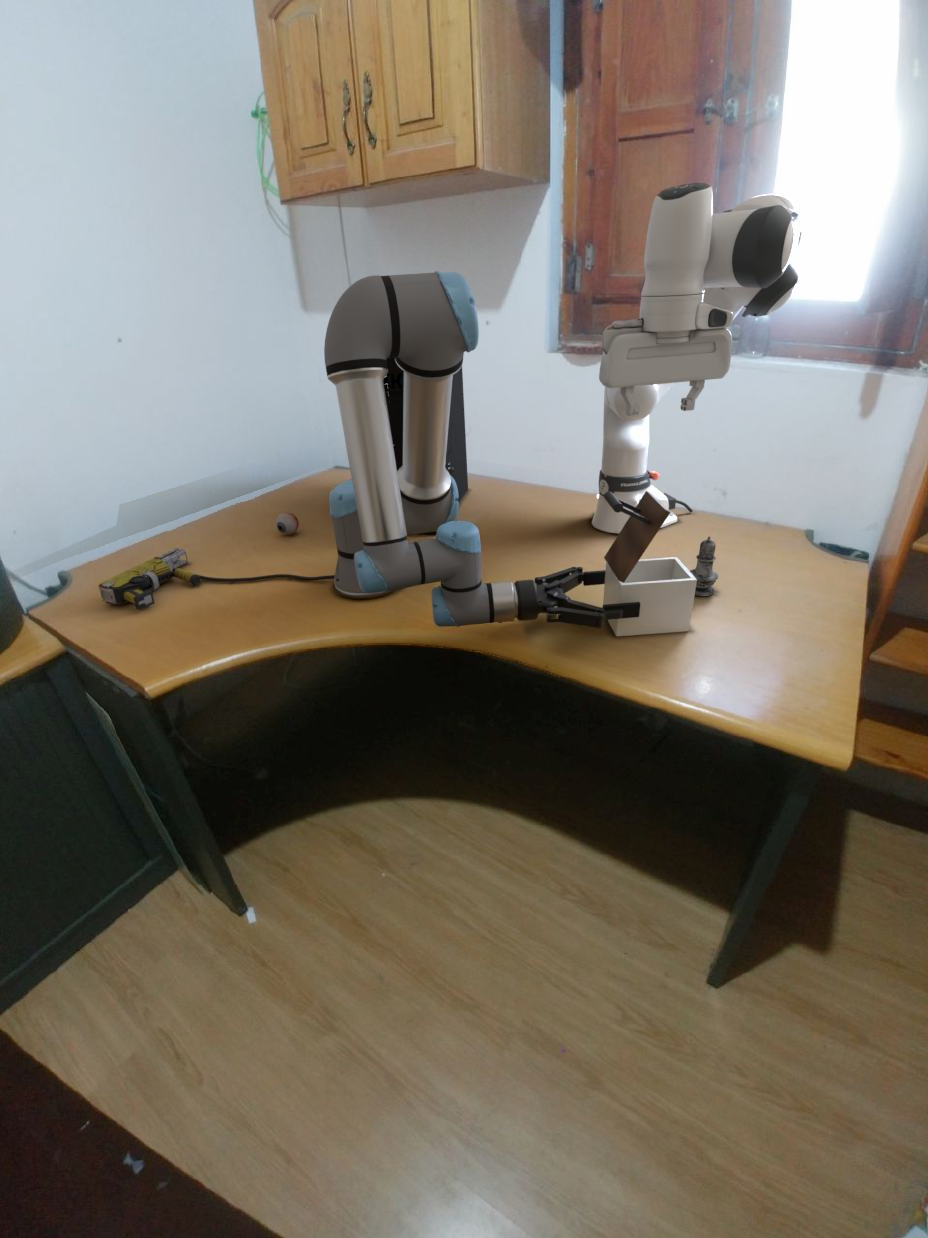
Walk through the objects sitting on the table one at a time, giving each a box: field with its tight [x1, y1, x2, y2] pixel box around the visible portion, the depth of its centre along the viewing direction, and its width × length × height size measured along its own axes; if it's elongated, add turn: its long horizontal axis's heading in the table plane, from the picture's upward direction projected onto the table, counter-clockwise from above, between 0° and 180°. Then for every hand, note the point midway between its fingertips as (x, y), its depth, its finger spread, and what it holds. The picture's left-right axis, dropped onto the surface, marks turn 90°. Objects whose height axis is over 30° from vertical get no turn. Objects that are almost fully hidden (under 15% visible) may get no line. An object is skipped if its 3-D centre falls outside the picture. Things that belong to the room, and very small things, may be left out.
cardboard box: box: [383, 358, 469, 535], centre depth 166 cm, size 38×20×45 cm, turn 167°
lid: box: [603, 491, 671, 583], centre depth 106 cm, size 14×10×8 cm
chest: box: [602, 556, 697, 637], centre depth 113 cm, size 14×10×11 cm
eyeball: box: [275, 511, 300, 536], centre depth 163 cm, size 6×6×6 cm
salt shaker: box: [689, 536, 719, 597], centre depth 122 cm, size 6×6×12 cm
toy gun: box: [98, 547, 202, 611], centre depth 139 cm, size 5×24×15 cm
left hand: (627, 591), depth 113 cm, fingers open, 13 cm apart
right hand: (659, 412), depth 97 cm, fingers open, 8 cm apart
